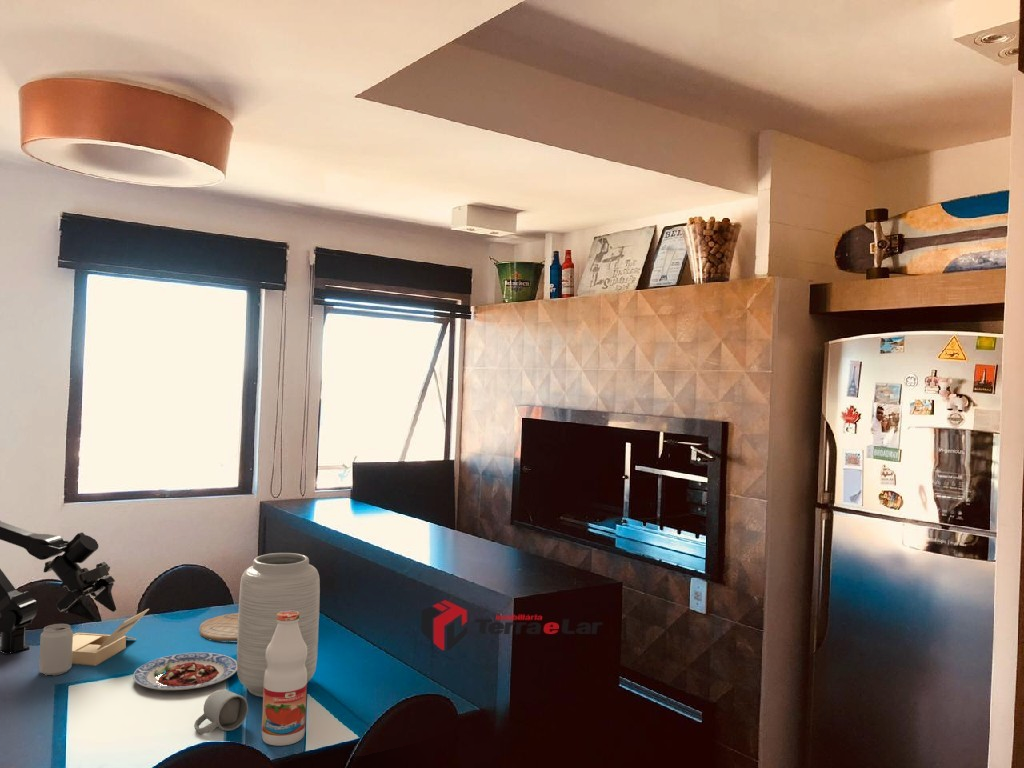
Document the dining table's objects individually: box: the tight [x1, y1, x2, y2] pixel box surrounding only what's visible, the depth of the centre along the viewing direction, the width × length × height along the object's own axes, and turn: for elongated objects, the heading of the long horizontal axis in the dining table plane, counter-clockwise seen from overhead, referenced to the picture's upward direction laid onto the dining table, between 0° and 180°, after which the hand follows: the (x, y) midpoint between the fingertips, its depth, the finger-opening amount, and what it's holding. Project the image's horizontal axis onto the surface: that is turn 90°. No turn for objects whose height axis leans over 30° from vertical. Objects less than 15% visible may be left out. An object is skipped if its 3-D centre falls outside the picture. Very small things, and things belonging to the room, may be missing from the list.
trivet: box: [198, 612, 239, 642], centre depth 245 cm, size 25×25×2 cm
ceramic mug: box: [193, 689, 249, 735], centre depth 178 cm, size 11×8×8 cm
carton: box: [72, 632, 137, 667], centre depth 222 cm, size 15×21×4 cm
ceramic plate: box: [132, 652, 237, 691], centre depth 206 cm, size 26×26×3 cm
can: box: [38, 623, 74, 676], centre depth 206 cm, size 8×8×12 cm
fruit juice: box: [261, 610, 308, 747], centre depth 174 cm, size 9×9×28 cm
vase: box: [236, 552, 321, 698], centre depth 202 cm, size 20×20×34 cm
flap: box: [97, 608, 150, 650], centre depth 217 cm, size 1×12×11 cm
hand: (105, 615), depth 218 cm, fingers open, 9 cm apart
